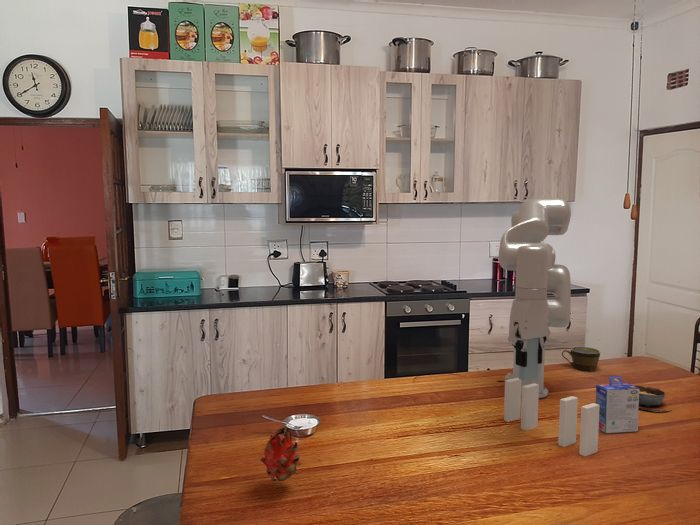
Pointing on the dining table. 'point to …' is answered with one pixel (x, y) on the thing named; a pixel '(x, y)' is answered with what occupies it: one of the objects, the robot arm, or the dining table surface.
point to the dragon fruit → (281, 456)
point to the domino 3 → (529, 406)
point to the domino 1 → (512, 399)
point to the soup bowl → (650, 397)
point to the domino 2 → (530, 361)
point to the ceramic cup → (584, 358)
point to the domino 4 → (568, 421)
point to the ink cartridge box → (617, 406)
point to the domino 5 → (589, 429)
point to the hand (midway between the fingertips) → (528, 363)
